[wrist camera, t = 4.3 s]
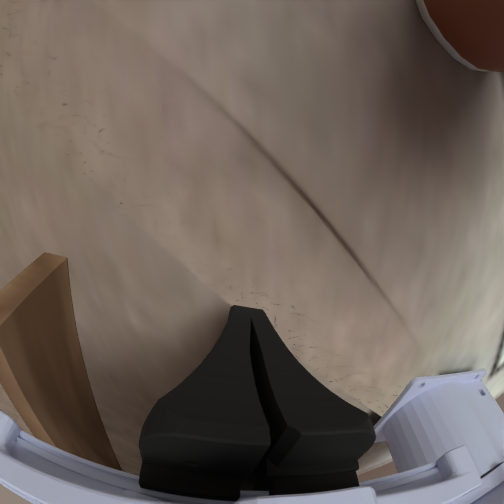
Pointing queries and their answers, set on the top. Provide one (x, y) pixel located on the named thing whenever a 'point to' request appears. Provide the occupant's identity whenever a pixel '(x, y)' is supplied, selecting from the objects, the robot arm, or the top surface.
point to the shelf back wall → (49, 362)
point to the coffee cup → (468, 30)
